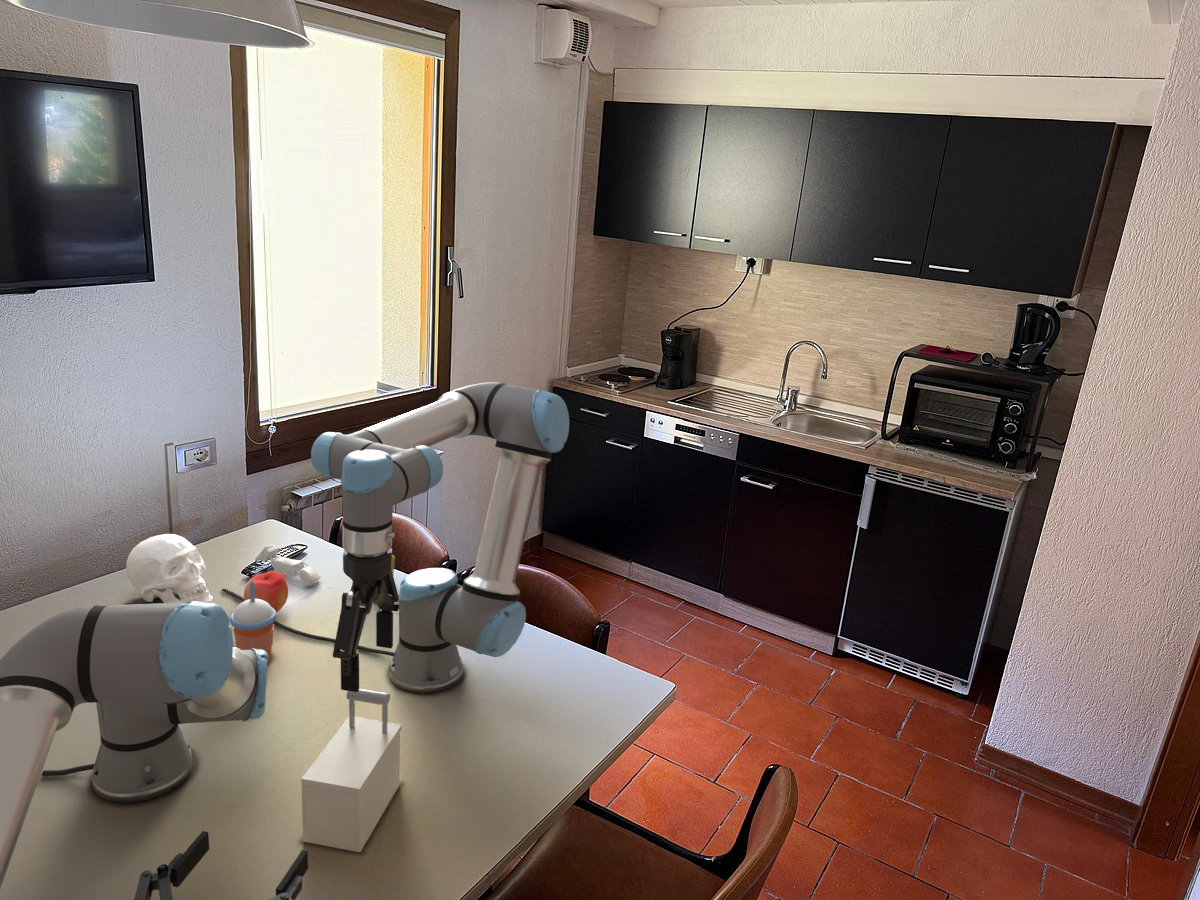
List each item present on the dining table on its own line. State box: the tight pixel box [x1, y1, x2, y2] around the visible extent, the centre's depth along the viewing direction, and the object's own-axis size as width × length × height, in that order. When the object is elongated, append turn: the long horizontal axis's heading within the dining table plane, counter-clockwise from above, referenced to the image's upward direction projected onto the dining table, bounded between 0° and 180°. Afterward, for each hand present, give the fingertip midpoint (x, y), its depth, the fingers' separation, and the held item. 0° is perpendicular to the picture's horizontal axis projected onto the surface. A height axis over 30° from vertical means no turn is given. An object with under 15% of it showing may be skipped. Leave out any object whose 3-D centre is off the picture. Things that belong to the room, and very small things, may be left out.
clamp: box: [254, 544, 322, 587], centre depth 219 cm, size 20×4×7 cm, turn 62°
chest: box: [301, 732, 401, 853], centre depth 140 cm, size 16×10×11 cm, turn 171°
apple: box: [243, 570, 289, 614], centre depth 199 cm, size 10×10×10 cm
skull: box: [125, 533, 214, 603], centre depth 202 cm, size 13×22×16 cm, turn 73°
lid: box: [300, 688, 403, 795], centre depth 138 cm, size 17×10×8 cm, turn 171°
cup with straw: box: [229, 582, 278, 662], centre depth 180 cm, size 9×9×18 cm
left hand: (255, 849), depth 109 cm, fingers open, 13 cm apart
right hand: (368, 667), depth 140 cm, fingers open, 13 cm apart
